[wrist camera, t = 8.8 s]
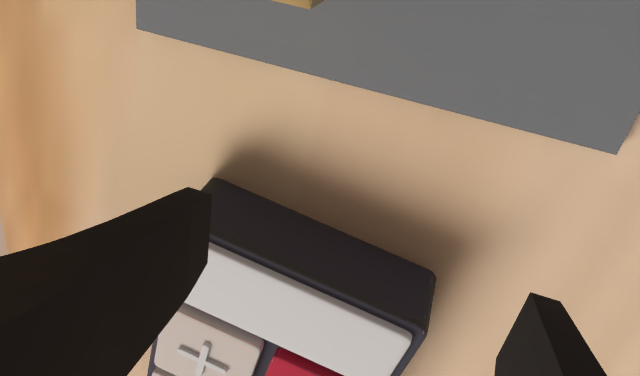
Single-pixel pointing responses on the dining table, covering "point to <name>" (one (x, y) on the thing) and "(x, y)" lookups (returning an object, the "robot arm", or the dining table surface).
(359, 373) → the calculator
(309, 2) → the bronze square frame
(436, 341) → the dining table surface
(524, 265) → the dining table surface
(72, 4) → the dining table surface
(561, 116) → the mat
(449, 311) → the dining table surface
